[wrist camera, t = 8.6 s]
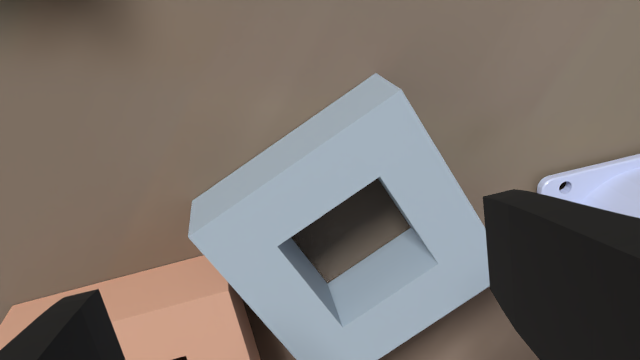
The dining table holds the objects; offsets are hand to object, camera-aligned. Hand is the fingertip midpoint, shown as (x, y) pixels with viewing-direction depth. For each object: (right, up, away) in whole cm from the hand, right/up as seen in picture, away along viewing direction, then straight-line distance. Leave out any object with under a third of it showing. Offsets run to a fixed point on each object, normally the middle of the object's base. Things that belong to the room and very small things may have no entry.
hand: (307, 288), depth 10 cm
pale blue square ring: (+1, 0, +11) cm, 11 cm away
